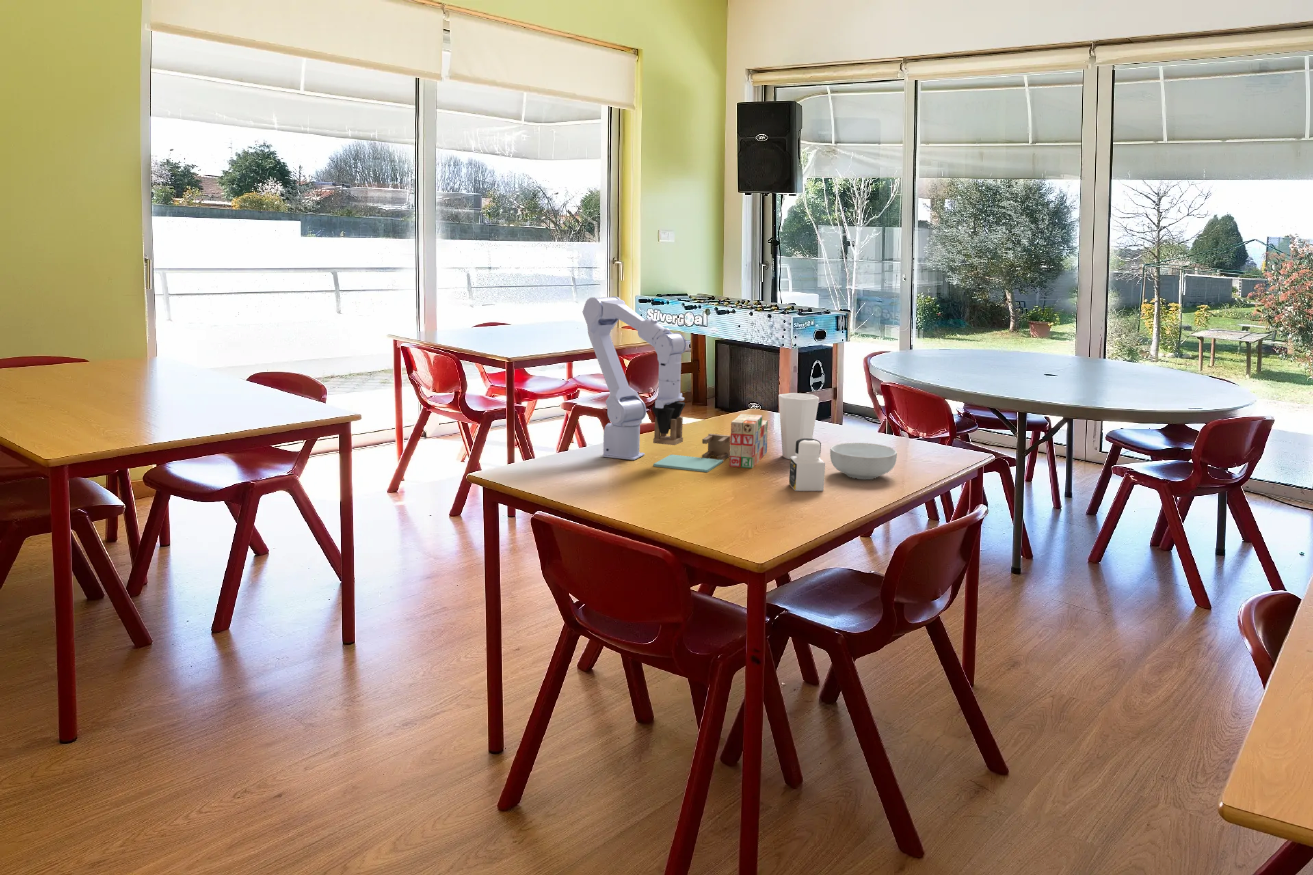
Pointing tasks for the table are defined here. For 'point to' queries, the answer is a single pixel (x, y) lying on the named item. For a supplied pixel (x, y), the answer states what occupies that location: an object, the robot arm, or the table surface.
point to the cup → (796, 419)
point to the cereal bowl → (863, 459)
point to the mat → (688, 463)
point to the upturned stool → (674, 433)
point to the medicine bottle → (807, 466)
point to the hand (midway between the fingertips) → (668, 431)
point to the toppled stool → (717, 446)
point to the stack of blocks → (748, 440)
